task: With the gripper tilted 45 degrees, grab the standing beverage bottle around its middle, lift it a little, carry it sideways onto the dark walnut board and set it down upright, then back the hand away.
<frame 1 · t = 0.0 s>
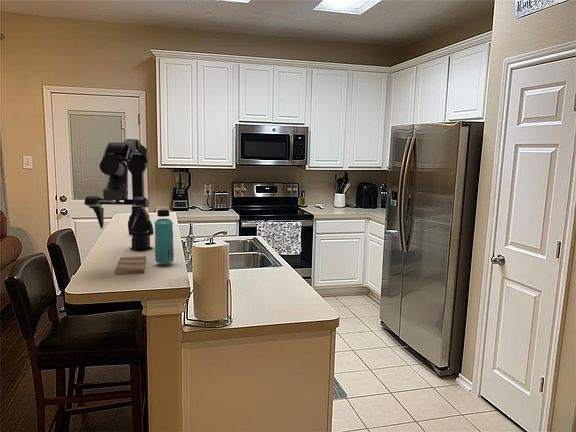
hand: (116, 228, 136), 15 cm above the table, tool pointing down, fingers open, 9 cm apart
beverage bottle: (164, 265, 151), on the table
walnut board: (131, 266, 148), on the table
potion bottle: (140, 236, 196), on the table
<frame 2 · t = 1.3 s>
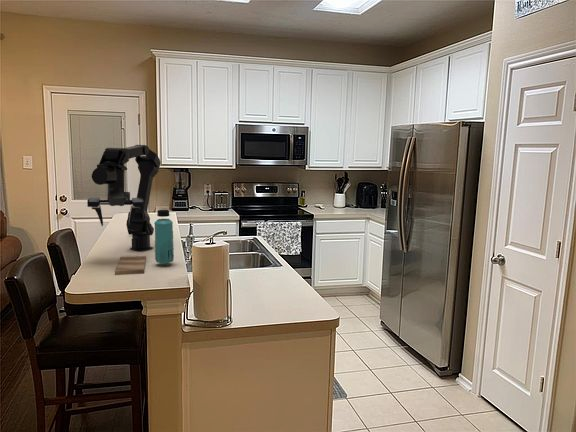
hand: (116, 225, 154), 13 cm above the table, tool pointing down, fingers open, 9 cm apart
nothing on the table moved.
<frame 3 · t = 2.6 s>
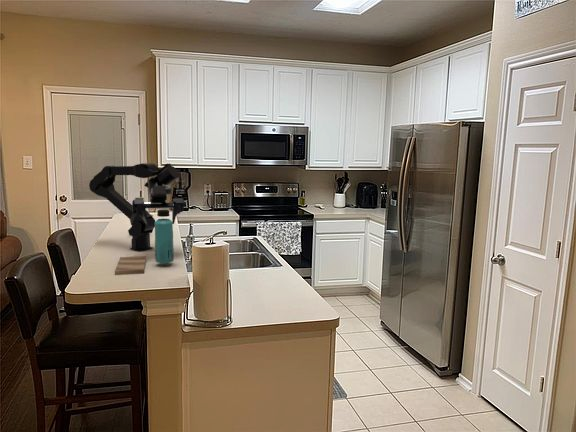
hand: (160, 224, 156), 14 cm above the table, tool tilted 45°, fingers open, 9 cm apart
nothing on the table moved.
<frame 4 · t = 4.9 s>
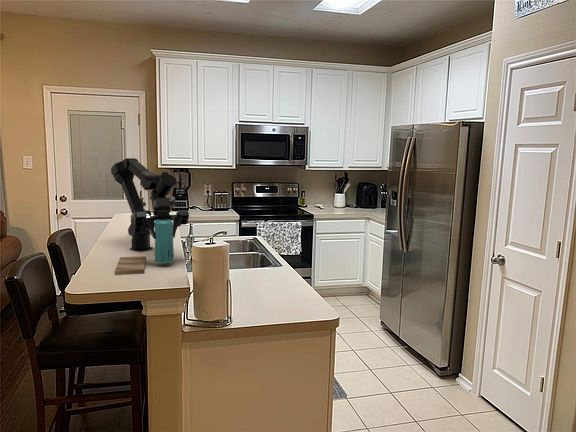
hand: (164, 237, 149), 10 cm above the table, tool tilted 45°, fingers closed on beverage bottle, 6 cm apart
beverage bottle: (164, 265, 151), on the table, touching gripper
everything else where it was.
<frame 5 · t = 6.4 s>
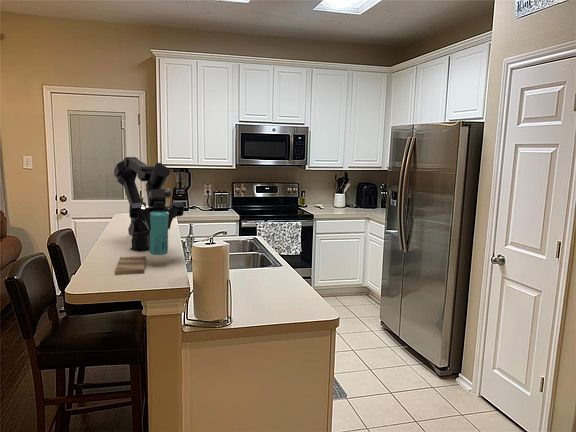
hand: (159, 229, 148), 13 cm above the table, tool tilted 45°, fingers closed on beverage bottle, 6 cm apart
beverage bottle: (158, 257, 151), point 3 cm above the table, touching gripper
everything else where it was.
when the fingers open (12 cm above the table, at t = 8.2 s): beverage bottle stays where it is, resting on walnut board.
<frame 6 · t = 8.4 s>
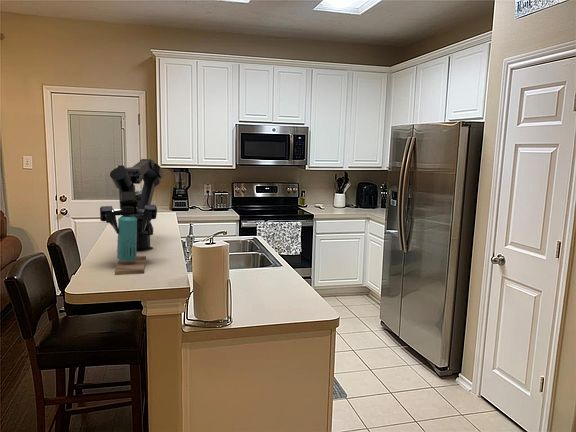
hand: (130, 232, 145), 12 cm above the table, tool tilted 45°, fingers open, 8 cm apart
beverage bottle: (126, 262, 148), point 1 cm above the table, touching gripper, walnut board
everything else where it was.
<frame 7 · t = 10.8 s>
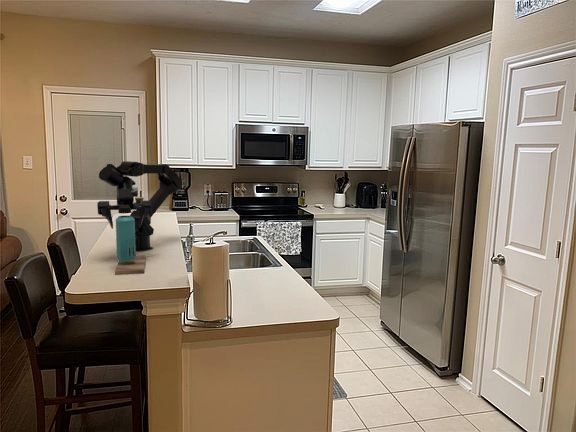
hand: (126, 227, 153), 12 cm above the table, tool tilted 40°, fingers open, 9 cm apart
beverage bottle: (126, 263, 148), point 1 cm above the table, touching walnut board
everything else where it was.
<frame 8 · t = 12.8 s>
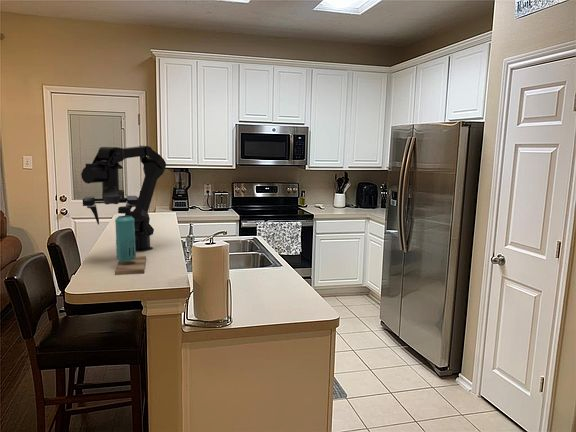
hand: (112, 223, 156), 13 cm above the table, tool pointing down, fingers open, 9 cm apart
nothing on the table moved.
at the end: beverage bottle inside the target area on the walnut board (1.7 cm from its centre), point 1.0 cm above the walnut board's base; beverage bottle tilted 0°; the gripper is holding nothing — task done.
